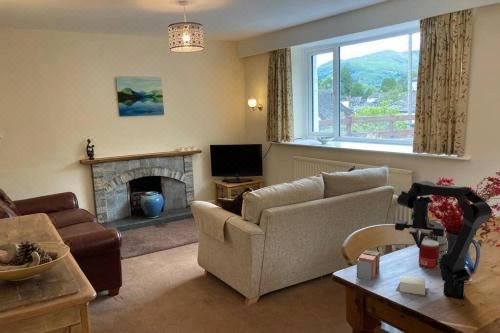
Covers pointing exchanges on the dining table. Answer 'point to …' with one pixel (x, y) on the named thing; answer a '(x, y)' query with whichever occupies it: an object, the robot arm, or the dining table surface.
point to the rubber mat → (413, 293)
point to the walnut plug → (377, 254)
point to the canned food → (429, 254)
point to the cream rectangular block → (412, 285)
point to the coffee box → (437, 238)
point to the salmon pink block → (369, 259)
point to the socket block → (363, 269)
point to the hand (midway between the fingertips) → (418, 247)
